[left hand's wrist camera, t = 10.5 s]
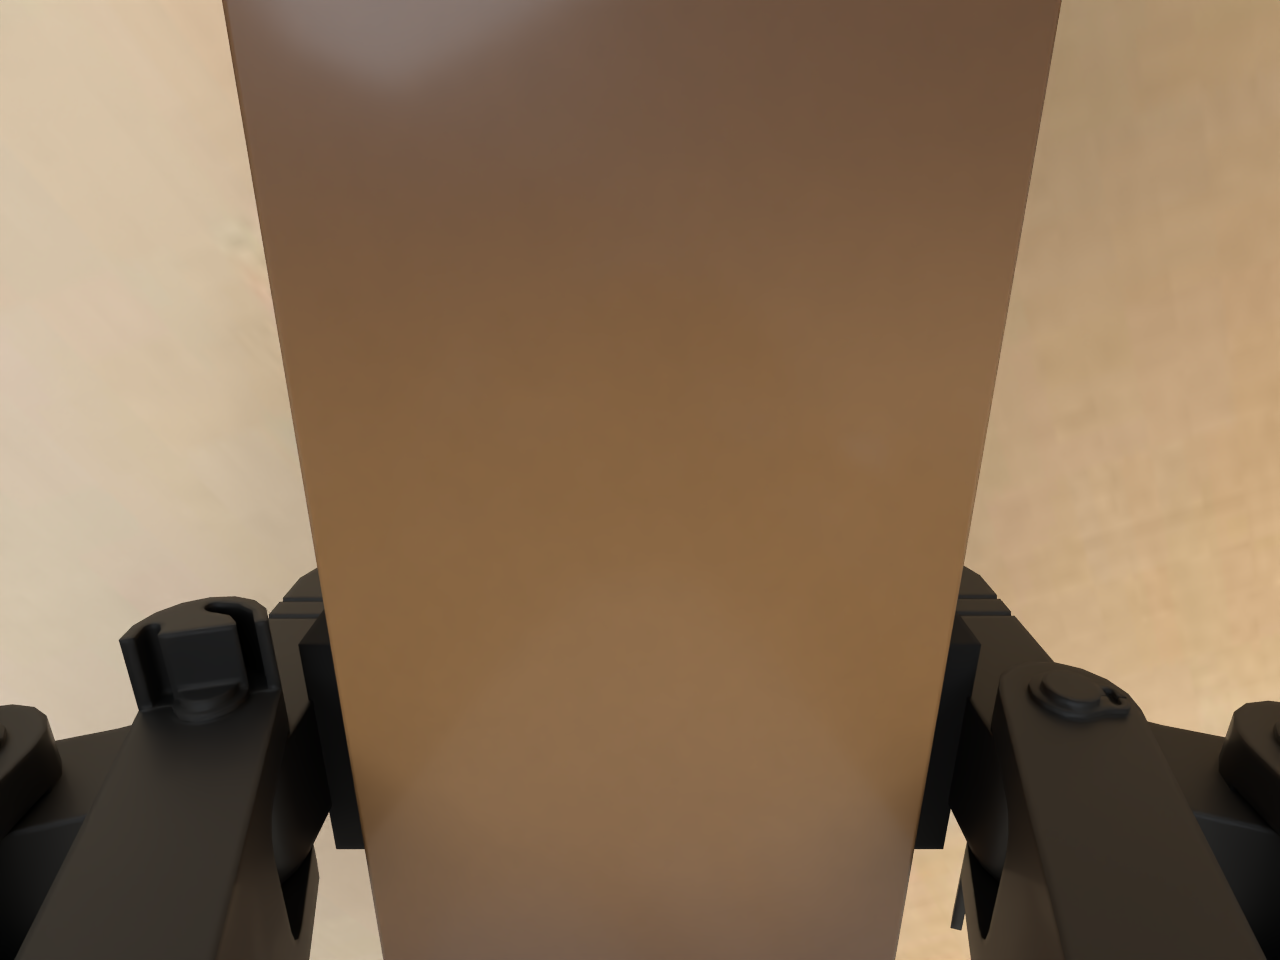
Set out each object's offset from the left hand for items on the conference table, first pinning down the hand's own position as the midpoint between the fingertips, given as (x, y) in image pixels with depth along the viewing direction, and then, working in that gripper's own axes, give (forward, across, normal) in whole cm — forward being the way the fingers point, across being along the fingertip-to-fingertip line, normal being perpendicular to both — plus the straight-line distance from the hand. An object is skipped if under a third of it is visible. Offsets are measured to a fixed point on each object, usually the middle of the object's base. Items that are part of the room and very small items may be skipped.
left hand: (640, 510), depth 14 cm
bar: (+1, 0, -7) cm, 7 cm away
